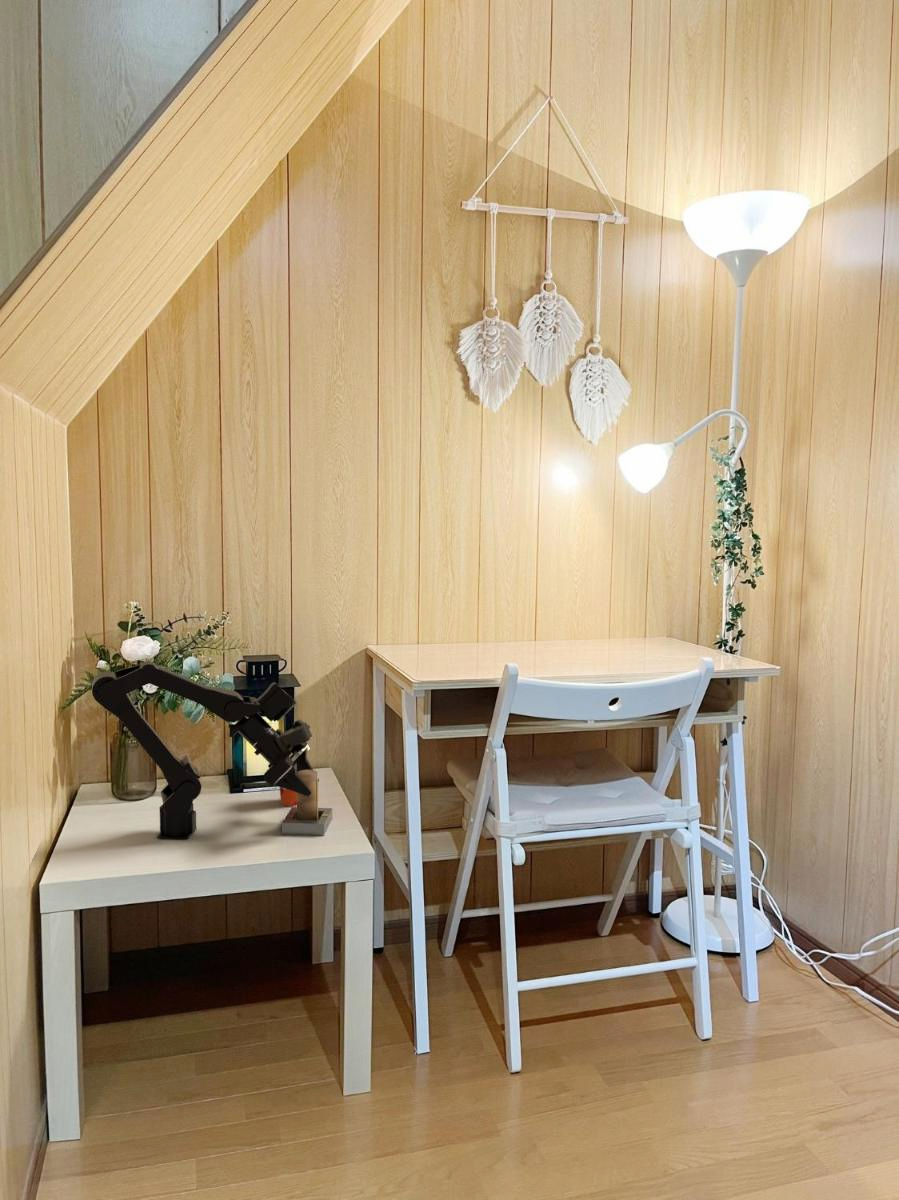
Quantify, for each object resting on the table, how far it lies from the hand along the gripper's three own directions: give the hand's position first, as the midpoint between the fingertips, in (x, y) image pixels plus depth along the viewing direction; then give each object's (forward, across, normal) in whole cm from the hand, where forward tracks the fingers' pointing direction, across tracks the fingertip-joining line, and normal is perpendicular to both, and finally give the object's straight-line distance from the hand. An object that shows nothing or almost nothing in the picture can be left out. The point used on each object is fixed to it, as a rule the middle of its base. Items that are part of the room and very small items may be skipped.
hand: (313, 788), depth 203 cm
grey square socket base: (+5, 0, +7) cm, 9 cm away
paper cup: (+1, +16, +12) cm, 19 cm away
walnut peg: (+5, 0, +7) cm, 9 cm away
